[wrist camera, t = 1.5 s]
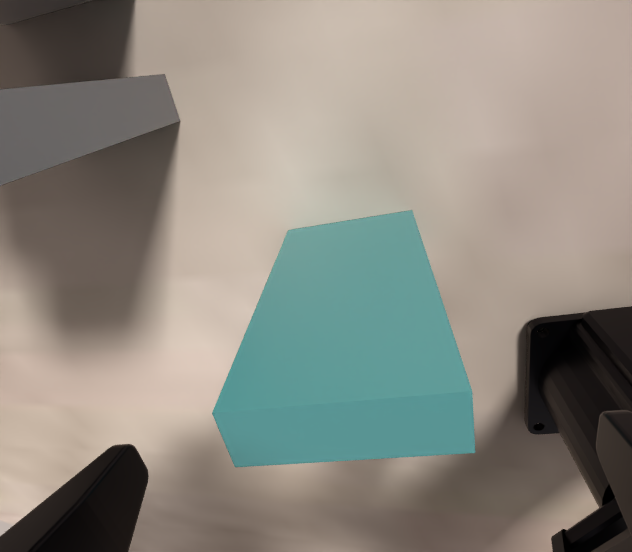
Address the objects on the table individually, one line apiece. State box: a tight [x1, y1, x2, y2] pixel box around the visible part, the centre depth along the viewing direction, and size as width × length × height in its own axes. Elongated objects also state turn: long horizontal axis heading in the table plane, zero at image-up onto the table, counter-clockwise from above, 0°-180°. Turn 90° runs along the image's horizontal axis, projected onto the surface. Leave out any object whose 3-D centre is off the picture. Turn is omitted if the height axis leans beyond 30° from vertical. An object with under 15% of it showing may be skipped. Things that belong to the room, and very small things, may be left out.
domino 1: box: [0, 74, 180, 186], centre depth 11 cm, size 2×5×10 cm, turn 102°
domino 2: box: [212, 210, 475, 467], centre depth 13 cm, size 2×5×10 cm, turn 102°
